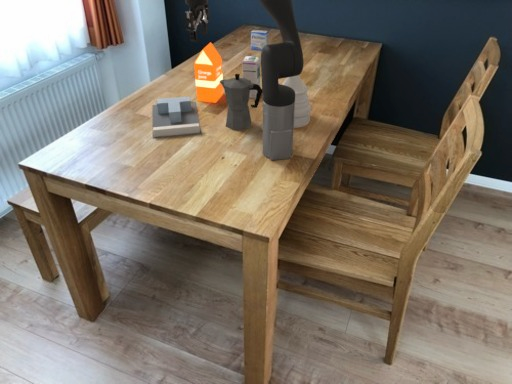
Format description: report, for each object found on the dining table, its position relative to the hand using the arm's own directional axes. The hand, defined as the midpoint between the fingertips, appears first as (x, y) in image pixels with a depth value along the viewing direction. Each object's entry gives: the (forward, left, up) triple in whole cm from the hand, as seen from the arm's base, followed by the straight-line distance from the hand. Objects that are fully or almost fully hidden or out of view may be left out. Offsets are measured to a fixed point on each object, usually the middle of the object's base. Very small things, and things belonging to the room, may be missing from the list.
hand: (199, 38), depth 154 cm
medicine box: (+54, -33, -23) cm, 67 cm away
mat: (-15, +11, -23) cm, 30 cm away
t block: (-12, +11, -23) cm, 28 cm away
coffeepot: (-24, -11, -23) cm, 35 cm away
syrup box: (0, -19, -23) cm, 30 cm away
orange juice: (+1, -3, -23) cm, 23 cm away
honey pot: (-23, -29, -23) cm, 43 cm away
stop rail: (-26, +11, -23) cm, 37 cm away
